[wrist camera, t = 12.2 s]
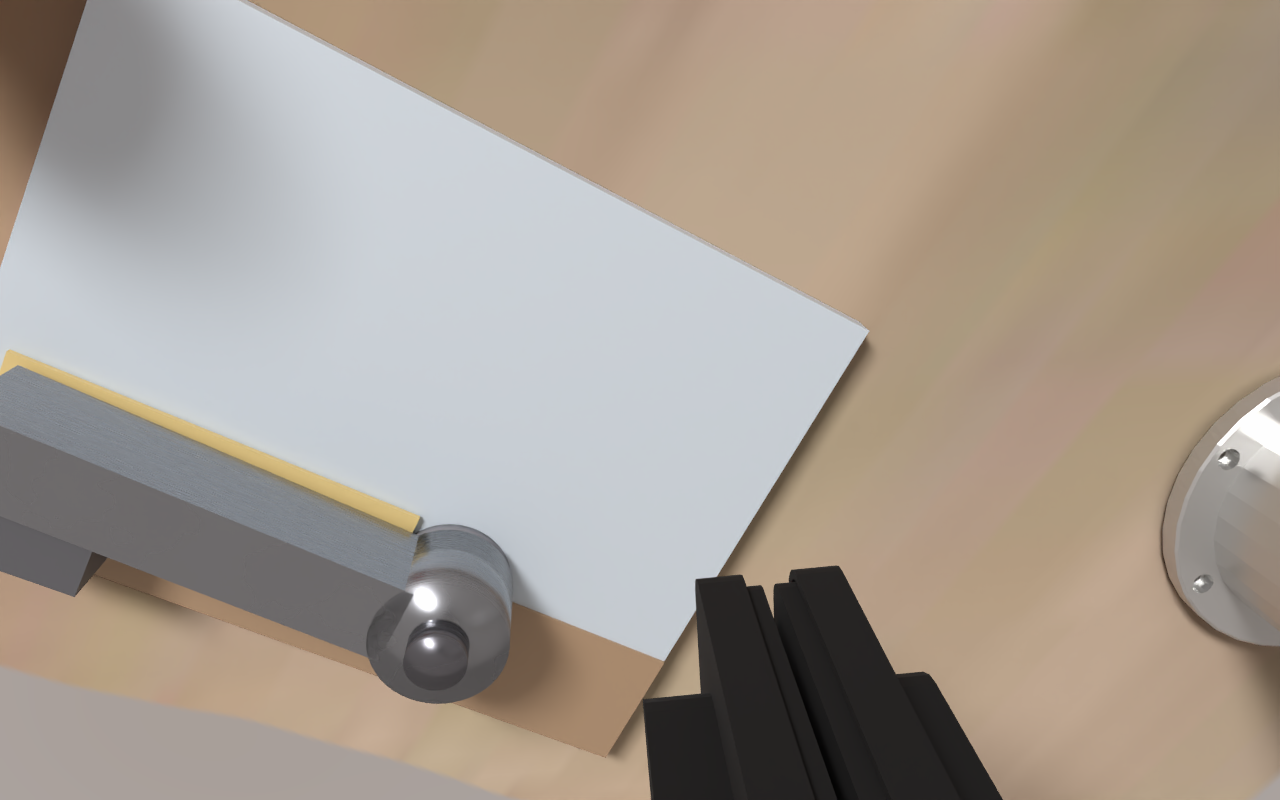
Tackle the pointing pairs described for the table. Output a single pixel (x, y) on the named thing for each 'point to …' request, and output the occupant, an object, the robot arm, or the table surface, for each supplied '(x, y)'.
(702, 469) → the door board
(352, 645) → the latch bar
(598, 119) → the table surface
